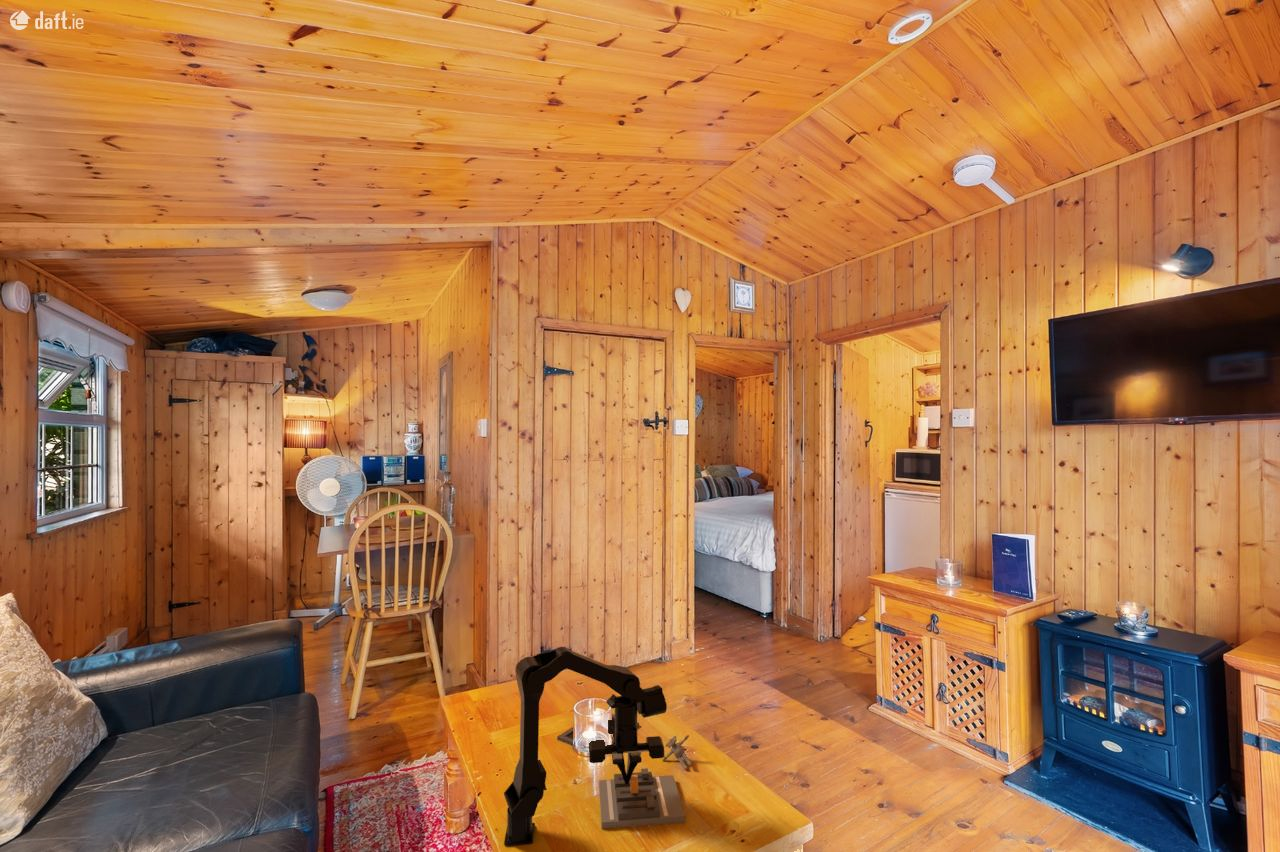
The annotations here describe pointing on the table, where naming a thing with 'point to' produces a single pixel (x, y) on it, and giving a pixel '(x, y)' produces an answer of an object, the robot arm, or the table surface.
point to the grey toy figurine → (678, 751)
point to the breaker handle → (634, 784)
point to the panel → (642, 822)
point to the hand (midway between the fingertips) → (626, 783)
